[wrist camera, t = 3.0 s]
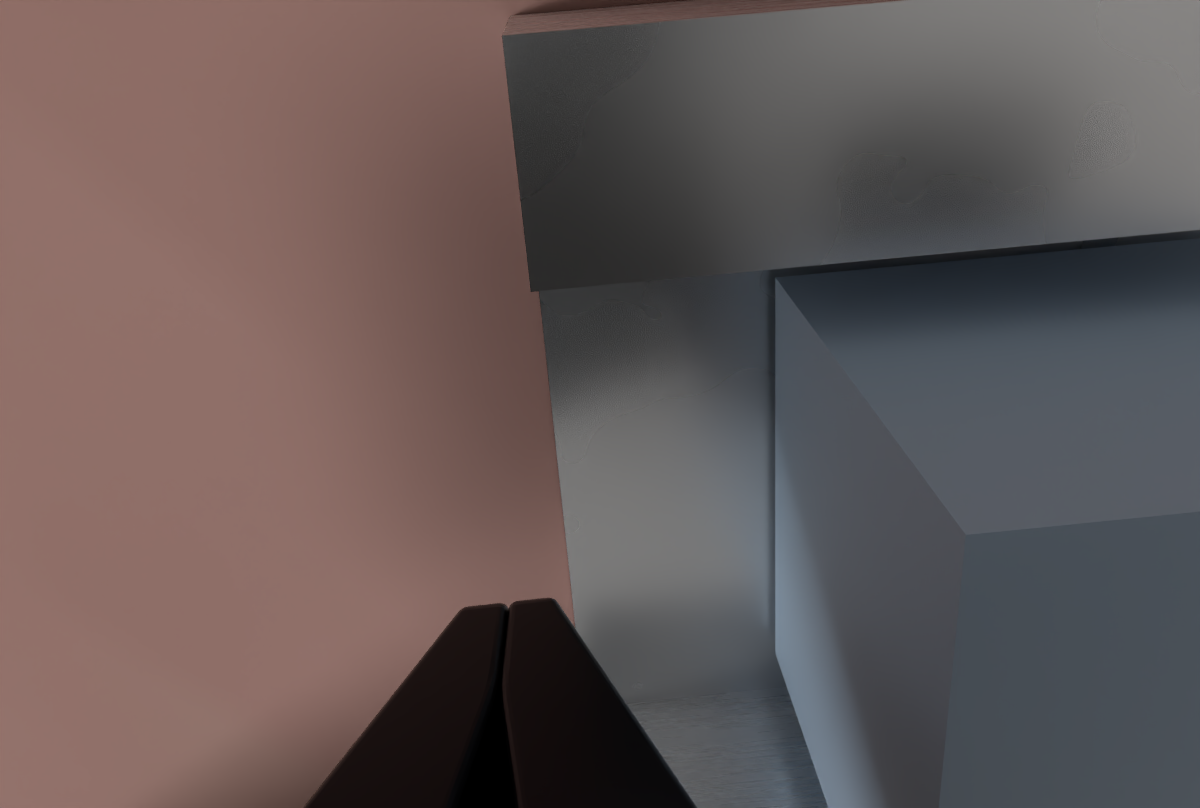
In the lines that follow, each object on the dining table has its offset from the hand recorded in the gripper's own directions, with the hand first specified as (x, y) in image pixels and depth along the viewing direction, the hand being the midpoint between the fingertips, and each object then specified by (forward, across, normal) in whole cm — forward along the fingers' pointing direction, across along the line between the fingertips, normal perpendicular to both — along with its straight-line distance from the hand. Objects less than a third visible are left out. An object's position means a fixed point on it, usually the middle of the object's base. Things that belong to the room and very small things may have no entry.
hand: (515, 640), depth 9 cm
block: (+3, -5, 0) cm, 6 cm away
